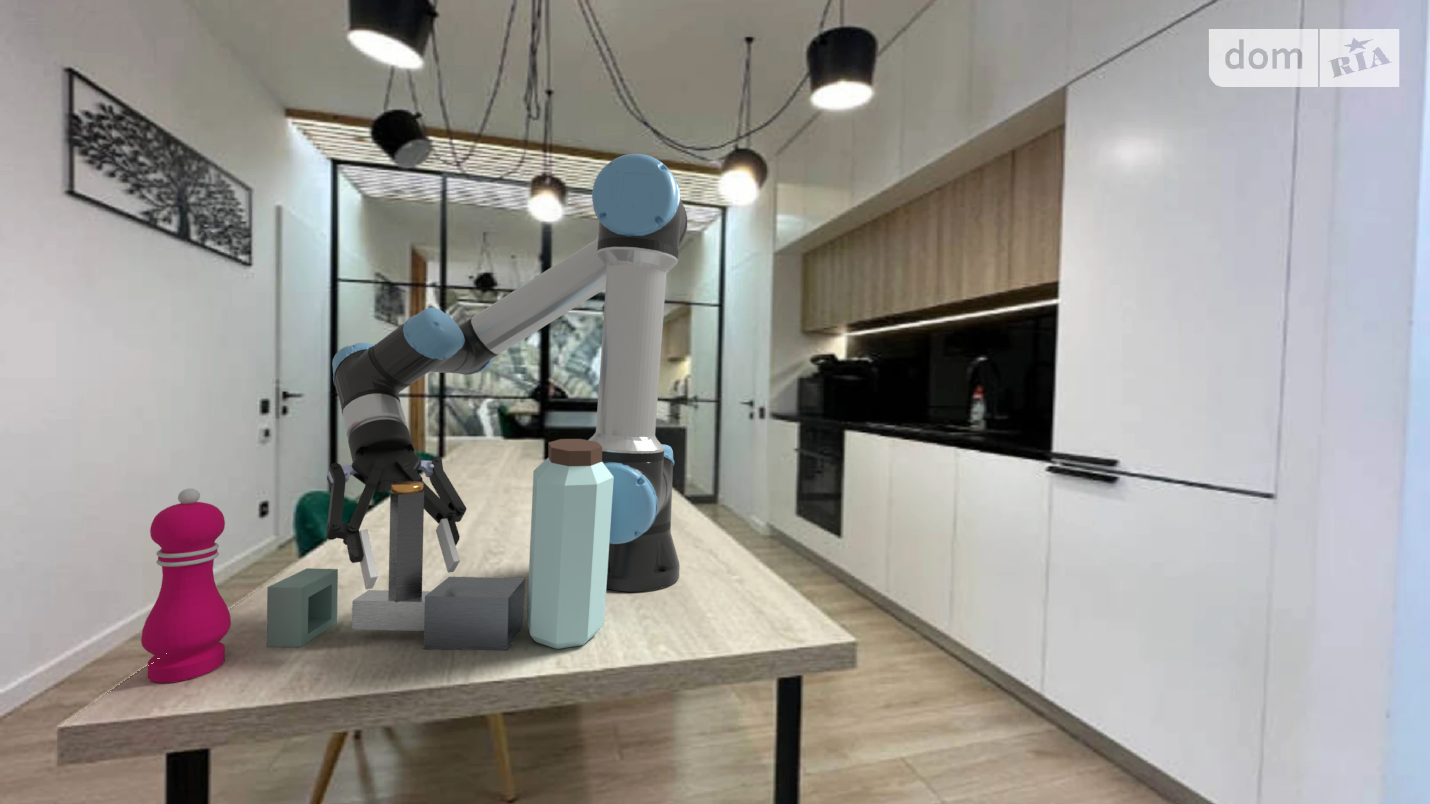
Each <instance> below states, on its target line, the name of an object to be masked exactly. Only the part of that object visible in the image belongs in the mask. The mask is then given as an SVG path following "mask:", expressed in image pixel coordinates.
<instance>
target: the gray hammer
mask: <svg viewBox="0 0 1430 804" xmlns="http://www.w3.org/2000/svg"><path fill="white" fill-rule="evenodd" d="M423 482H424V481H423ZM423 482H419V481H404V482H396V483H392V484H391V490H389V491H390V493H389V494H390V496H389V501H390V502H389V503H390V505H389V542H388V543H389V549H388V552H389V554H388V589H386V590H382V589H380V590H379V589H374V590H373V589H367V590H366V591H365V592H364V593H362V594H361V595H359V596H358V597H356V598H354V599H353V600H352V602H351V603H352V605H351V607H352V608H351V610H352V612H351V630H362V631H363V630H368V631H373V630H377V631H378V630H379V631H423V632H424V614H425V596H426V595H427V594H428V593H429V592H431V591H432V590H429V591H428V590H424V591H423V568H424V567H423V565H424V564H423V562H424V561H423V559H424V558H423V557H424V552H423V551H424V523H425V522H424V518H425V517H424V511H425V509H424V492H423Z"/></svg>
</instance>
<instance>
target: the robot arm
mask: <svg viewBox="0 0 1430 804" xmlns="http://www.w3.org/2000/svg"><path fill="white" fill-rule="evenodd" d="M591 193H592V194H591V197H592V199H591V200H592V206H593V211H594V214H595V216H596V218H597V220H598V231H597V232H598V233H597V237H596V239H594V240H593V241H591V242H589V243H588V244H586V245H584V246H583V247H582V248H580V249H579V250H577V251H575V252H573V253H572V254H570V255H569V256H567V257H566V258H563V260H561V261H559V262H558V263H556V264H555V265H553V266H551V267H549V268H547V270H545V271H543V272H542V273H540V274H539V275H537V276H535V277H533V278H532V279H530V280H529V281H527V282H525V283H524V284H523V285H521V286H520V287H518V288H516V289H515V290H513V291H512V292H510V293H509V294H506V295H505V296H503V297H502V298H500V299H499V300H497V301H496V302H494V303H492V304H491V305H489V306H488V307H486V308H484V309H483V310H481V311H480V312H477V313H476V314H475V315H473V316H472V317H470V318H469V319H467V320H465V321H464V322H462V323H460V324H459V325H458V323H457V322H456V321H455V320H454V319H453V318H452V317H451V316H450V315H449V314H448V313H445V312H444V311H443V310H441V309H439V308H437V307H427V308H425V309H423V310H421V311H420V312H418V313H417V314H415V315H412V316H410V317H409V318H407V320H406V321H405V322H404V323H402V324H401V325H400V326H398V327H397V328H396V329H394V330H393V331H392V332H390V333H389V334H388V335H386V336H385V337H384V338H382V339H381V340H379V341H378V342H377V343H375V344H373V343H370V342H356V343H355V344H353V345H345V346H344V347H342V348H340V349H338V352H336V353H335V355H334V356H333V358H332V364H331V365H332V374H333V376H332V379H333V385H334V387H335V390H336V393H337V397H338V400H339V404H340V409H341V415H342V417H343V418H342V419H343V423H344V428H345V432H346V437H347V440H348V441H347V443H348V447H349V451H350V457H351V461H352V463H351V464H347V465H341V464H340V463H339V462H338V463H337V462H333V463H331V464H330V466H329V470H328V473H327V475H326V476H327V477H326V480H327V482H328V485H329V487H330V497H329V507H328V512H327V513H328V514H327V523H326V530H325V531H326V533H325V537H326V539H328V540H330V541H333V540H336V539H340V540H342V543H343V544H344V545H346V548H347V554H348V557H349V561H350V562H351V563H352V564H355V563H360V564H359V565H360V569H361V573H362V578H363V583H364V588H365V590H372V589H374V586H375V584H376V582H377V580H378V578H379V574H378V571H377V565H376V561H375V557H374V553H373V549H372V543H371V540H370V535H369V530H368V529H361V530H360V528H361V525H362V523H363V521H364V518H365V516H366V514H367V511H368V509H369V506H370V505H371V504H370V503H371V501H372V499H373V497H374V493H375V492H377V493H385V492H388V491H391V484H392V483H396V482H404V481H419V482H423V492H424V511H425V512H426V513H427V514H428V515H429V516H431V517H432V519H433V520H434V521H435V522H436V523H437V524H438V525H437V527H436V529H435V532H436V536H437V540H438V544H439V547H440V550H441V553H442V556H443V557H442V558H443V561H444V564H445V567H446V571H447V573H454V572H455V571H456V569H457V567H458V565H459V563H460V561H461V559H460V555H459V552H458V549H457V546H458V543H459V541H460V537H461V536H460V533H459V530H458V527H457V523H460V522H461V521H462V519H463V517H464V516H465V513H466V511H467V507H466V505H465V503H464V501H463V500H462V498H461V497H460V495H459V493H458V492H457V490H456V488H455V487H454V485H453V484H452V482H451V479H450V478H449V476H448V475H447V474H446V472H445V470H444V466H443V460H442V458H441V457H440V456H436V457H433V459H432V460H421V458H420V457H419V456H418V455H417V454H416V452H415V447H414V444H413V443H414V442H413V441H412V437H411V433H410V430H409V428H408V423H407V420H406V419H407V418H406V416H405V413H404V409H403V406H402V403H401V399H400V396H399V394H400V393H401V392H402V391H403V390H405V389H407V388H408V387H410V386H411V385H412V384H414V383H415V382H417V381H419V379H422V377H424V376H425V375H427V374H429V373H438V374H439V373H443V374H444V373H446V374H451V373H452V374H458V375H465V376H466V375H474V374H479V373H482V372H484V371H486V370H487V369H489V367H490V366H491V365H492V363H493V361H494V359H495V358H496V357H497V356H498V355H500V354H502V353H504V352H505V351H507V350H508V349H510V348H512V347H513V346H514V345H516V344H518V343H519V342H522V341H523V340H524V339H526V338H527V337H529V336H531V335H532V334H534V333H536V332H537V331H539V330H541V329H542V328H544V327H545V326H547V325H549V324H550V323H552V322H554V321H555V320H557V319H558V318H560V317H563V315H565V314H567V313H568V312H570V311H571V310H573V309H574V308H576V307H578V306H580V305H581V304H583V303H585V302H587V300H589V299H591V298H593V297H594V296H596V295H597V294H599V293H601V292H602V291H604V290H605V292H604V305H603V307H604V308H603V322H602V335H601V337H602V338H601V353H600V367H599V379H598V380H599V381H598V382H599V383H598V395H597V397H598V398H597V410H596V411H597V413H596V426H595V433H593V435H592V436H591V437H590V438H589V439H588V440H589V441H594V442H598V443H599V444H600V445H601V446H602V462H603V464H604V465H605V466H606V467H607V469H608V470H609V471H610V473H611V474H612V475H613V477H614V480H613V495H612V510H611V525H610V540H609V555H608V570H607V585H606V590H611V591H612V590H613V591H617V592H618V591H619V592H620V591H621V592H647V591H654V590H655V591H656V590H659V589H664V588H667V587H669V586H671V585H673V584H676V582H678V580H679V579H680V570H681V568H680V566H681V565H680V560H679V558H678V554H677V550H676V547H675V542H674V539H673V536H672V529H671V527H672V526H671V525H672V503H673V502H672V501H673V497H672V496H673V472H674V471H673V469H674V466H675V460H674V452H673V449H672V446H670V445H668V444H662V443H661V442H660V441H659V440H658V438H657V436H656V429H657V427H656V425H657V411H658V399H659V398H658V397H659V382H660V372H661V371H660V369H661V358H662V357H661V356H662V355H661V354H662V341H663V327H664V313H665V300H666V299H665V298H666V286H667V274H668V273H669V272H670V271H671V270H672V269H673V268H674V267H676V265H678V261H679V260H678V259H679V250H680V249H679V248H680V247H681V245H682V243H683V241H684V240H685V238H686V234H687V231H688V216H687V215H688V214H687V211H686V207H685V206H684V203H683V201H682V200H683V199H682V198H681V189H680V186H679V184H678V181H677V178H676V177H675V176H674V175H673V173H672V172H671V170H669V168H668V166H666V165H665V164H664V163H663V162H662V161H660V160H659V159H657V158H655V157H653V156H650V155H647V154H643V153H629V154H628V153H627V154H623V155H621V156H618V157H616V158H614V159H611V161H610V162H608V163H607V164H606V165H604V166H603V168H601V170H599V173H598V174H597V176H596V178H595V180H594V182H593V186H592V191H591ZM419 471H421V472H424V474H425V477H426V478H428V479H429V481H430V484H431V486H432V487H433V488H434V491H435V492H436V493H435V492H434V491H433V489H431V488H430V487H429V486H428V485H427V484H426V482H425V481H424V480H423V479H424V478H423V477H422V476H421V475H420V473H419ZM351 476H353V477H354V478H355V479H356V480H357V481H359V482H361V483H362V484H364V487H363V490H362V492H361V495H360V497H359V500H358V502H357V504H356V507H355V509H354V512H353V513H352V516H351V518H350V521H349V523H343V521H342V520H343V511H344V504H345V503H344V502H345V492H346V483H347V482H348V481H349V479H350V477H351Z"/></svg>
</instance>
